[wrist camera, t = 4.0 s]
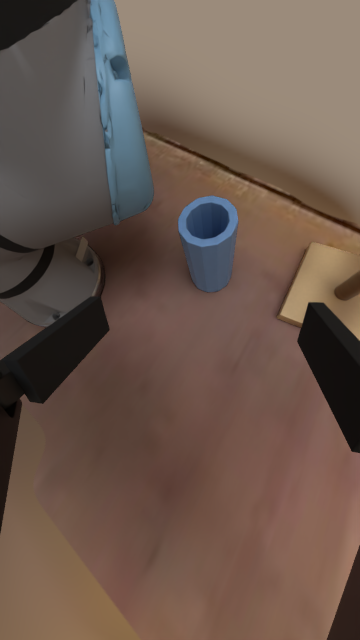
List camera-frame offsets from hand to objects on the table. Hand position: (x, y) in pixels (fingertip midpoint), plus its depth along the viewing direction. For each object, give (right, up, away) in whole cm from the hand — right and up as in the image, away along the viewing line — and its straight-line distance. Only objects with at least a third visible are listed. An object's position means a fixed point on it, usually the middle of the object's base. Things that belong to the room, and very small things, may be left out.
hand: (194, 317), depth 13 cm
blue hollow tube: (+4, +7, +16) cm, 18 cm away
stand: (+19, +3, +12) cm, 23 cm away
